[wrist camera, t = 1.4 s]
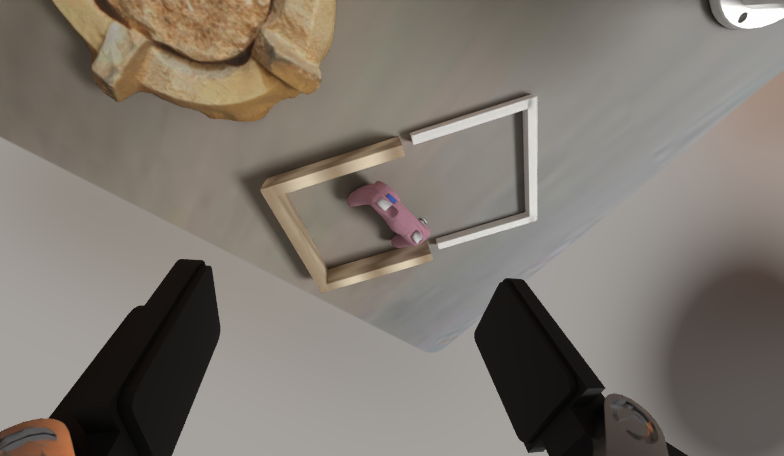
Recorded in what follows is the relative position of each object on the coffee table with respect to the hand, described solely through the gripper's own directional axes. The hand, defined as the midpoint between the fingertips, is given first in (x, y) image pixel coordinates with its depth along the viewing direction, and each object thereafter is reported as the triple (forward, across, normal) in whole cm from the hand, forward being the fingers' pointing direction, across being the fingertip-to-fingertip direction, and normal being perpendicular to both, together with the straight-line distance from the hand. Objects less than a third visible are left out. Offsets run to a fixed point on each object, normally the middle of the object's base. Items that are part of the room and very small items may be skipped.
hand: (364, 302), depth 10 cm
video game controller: (+26, -6, +9) cm, 28 cm away
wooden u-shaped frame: (+26, -2, +12) cm, 28 cm away
